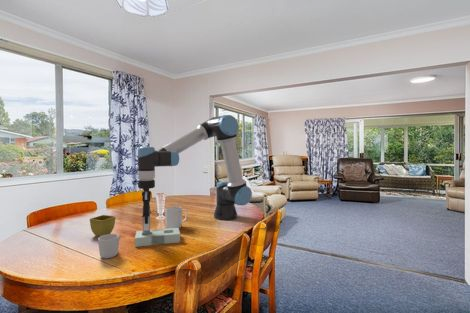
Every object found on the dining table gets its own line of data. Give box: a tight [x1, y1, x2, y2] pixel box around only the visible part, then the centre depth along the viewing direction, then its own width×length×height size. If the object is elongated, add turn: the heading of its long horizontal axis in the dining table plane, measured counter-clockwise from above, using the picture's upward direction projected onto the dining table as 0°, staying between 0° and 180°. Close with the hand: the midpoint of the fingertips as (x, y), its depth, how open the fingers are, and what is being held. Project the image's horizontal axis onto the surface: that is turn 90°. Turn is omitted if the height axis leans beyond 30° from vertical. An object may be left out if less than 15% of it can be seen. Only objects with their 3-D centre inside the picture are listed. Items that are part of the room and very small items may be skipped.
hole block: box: [134, 228, 181, 248], centre depth 122 cm, size 20×10×4 cm, turn 107°
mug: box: [164, 205, 188, 229], centre depth 143 cm, size 12×9×11 cm
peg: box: [142, 206, 151, 233], centre depth 120 cm, size 3×3×12 cm
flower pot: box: [89, 214, 116, 237], centre depth 130 cm, size 9×9×9 cm
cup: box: [97, 233, 120, 259], centre depth 106 cm, size 11×8×8 cm
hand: (146, 228), depth 120 cm, fingers closed on peg, 3 cm apart
